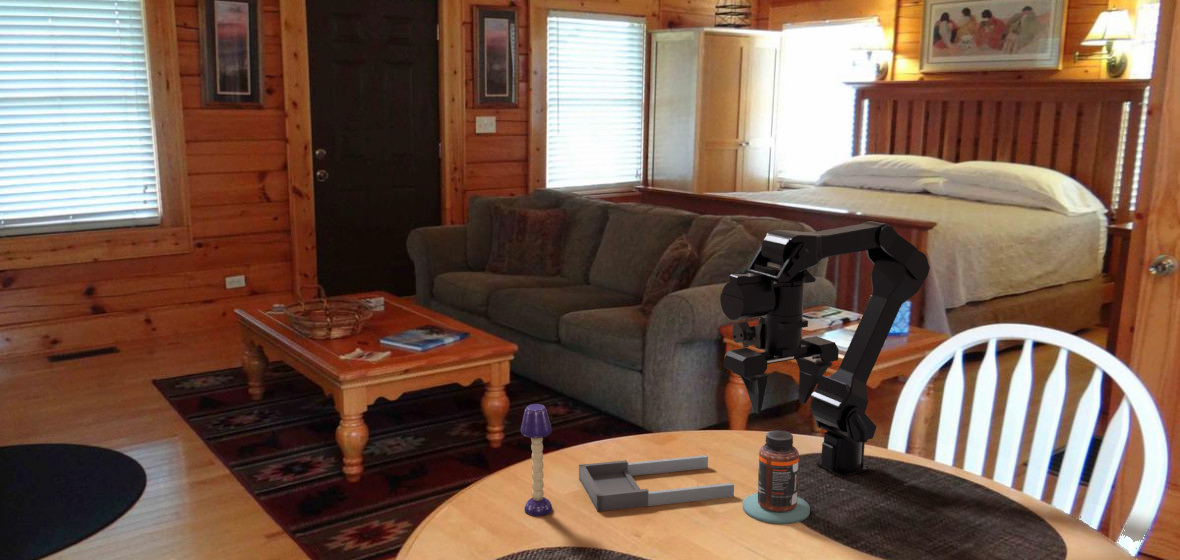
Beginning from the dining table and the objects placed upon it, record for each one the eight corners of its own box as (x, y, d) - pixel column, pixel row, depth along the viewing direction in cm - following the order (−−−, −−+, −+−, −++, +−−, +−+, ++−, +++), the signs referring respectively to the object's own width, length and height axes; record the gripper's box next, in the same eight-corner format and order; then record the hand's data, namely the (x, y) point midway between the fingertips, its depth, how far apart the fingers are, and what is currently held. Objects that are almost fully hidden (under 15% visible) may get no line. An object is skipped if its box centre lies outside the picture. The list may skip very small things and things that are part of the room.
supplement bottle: (805, 509, 143) (808, 438, 141) (772, 516, 141) (774, 444, 138) (781, 494, 148) (784, 425, 146) (749, 501, 146) (751, 431, 144)
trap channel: (706, 466, 161) (706, 452, 160) (733, 496, 149) (734, 481, 149) (579, 479, 156) (579, 464, 155) (597, 511, 144) (597, 496, 144)
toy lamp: (555, 516, 143) (554, 410, 139) (524, 519, 142) (522, 412, 138) (549, 502, 147) (548, 399, 144) (519, 505, 146) (517, 402, 143)
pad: (780, 490, 151) (780, 486, 151) (823, 514, 143) (823, 511, 143) (729, 503, 147) (729, 499, 147) (771, 529, 138) (771, 525, 138)
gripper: (796, 295, 159) (792, 385, 162) (704, 308, 150) (702, 402, 153) (843, 309, 149) (838, 404, 153) (748, 323, 141) (744, 423, 144)
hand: (780, 407), depth 151 cm, fingers open, 9 cm apart
